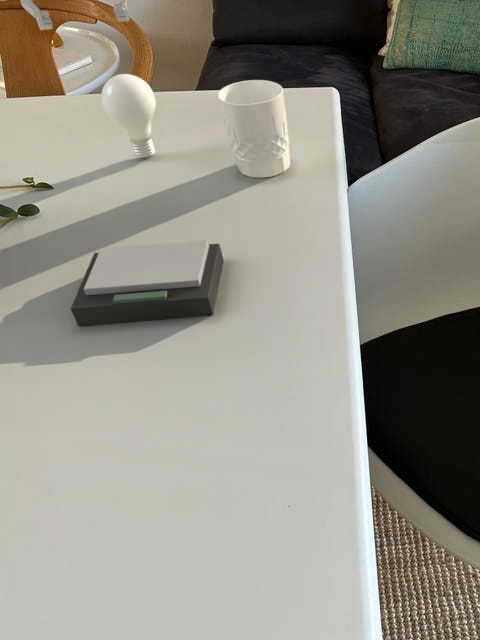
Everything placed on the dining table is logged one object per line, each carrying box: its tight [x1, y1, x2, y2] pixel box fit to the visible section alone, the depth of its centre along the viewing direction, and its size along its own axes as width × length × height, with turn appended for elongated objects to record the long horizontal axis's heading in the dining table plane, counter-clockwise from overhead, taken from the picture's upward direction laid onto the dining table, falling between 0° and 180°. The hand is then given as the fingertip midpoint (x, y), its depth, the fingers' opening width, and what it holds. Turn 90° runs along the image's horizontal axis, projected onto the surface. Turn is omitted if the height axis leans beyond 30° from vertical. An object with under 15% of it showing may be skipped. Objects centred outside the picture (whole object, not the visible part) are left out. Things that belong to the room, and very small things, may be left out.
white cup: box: [216, 79, 291, 179], centre depth 99 cm, size 8×8×10 cm
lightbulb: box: [100, 73, 157, 159], centre depth 101 cm, size 6×6×11 cm
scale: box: [70, 239, 224, 327], centre depth 80 cm, size 13×10×3 cm
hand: (86, 23), depth 102 cm, fingers open, 8 cm apart
